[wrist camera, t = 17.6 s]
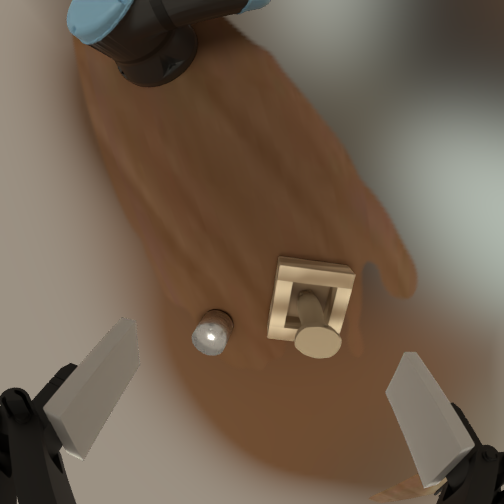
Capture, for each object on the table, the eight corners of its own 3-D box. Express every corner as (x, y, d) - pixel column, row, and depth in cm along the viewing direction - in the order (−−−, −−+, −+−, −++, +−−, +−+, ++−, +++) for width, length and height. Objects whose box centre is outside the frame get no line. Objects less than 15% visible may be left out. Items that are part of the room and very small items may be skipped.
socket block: (278, 255, 49) (279, 265, 44) (347, 265, 49) (355, 274, 44) (267, 323, 53) (267, 338, 48) (330, 330, 52) (335, 344, 48)
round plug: (230, 339, 54) (222, 359, 48) (201, 330, 54) (190, 349, 49) (235, 315, 51) (226, 334, 46) (204, 306, 52) (193, 323, 47)
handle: (316, 313, 51) (330, 362, 37) (284, 302, 51) (289, 350, 36) (327, 291, 50) (347, 335, 35) (295, 279, 50) (304, 321, 35)
